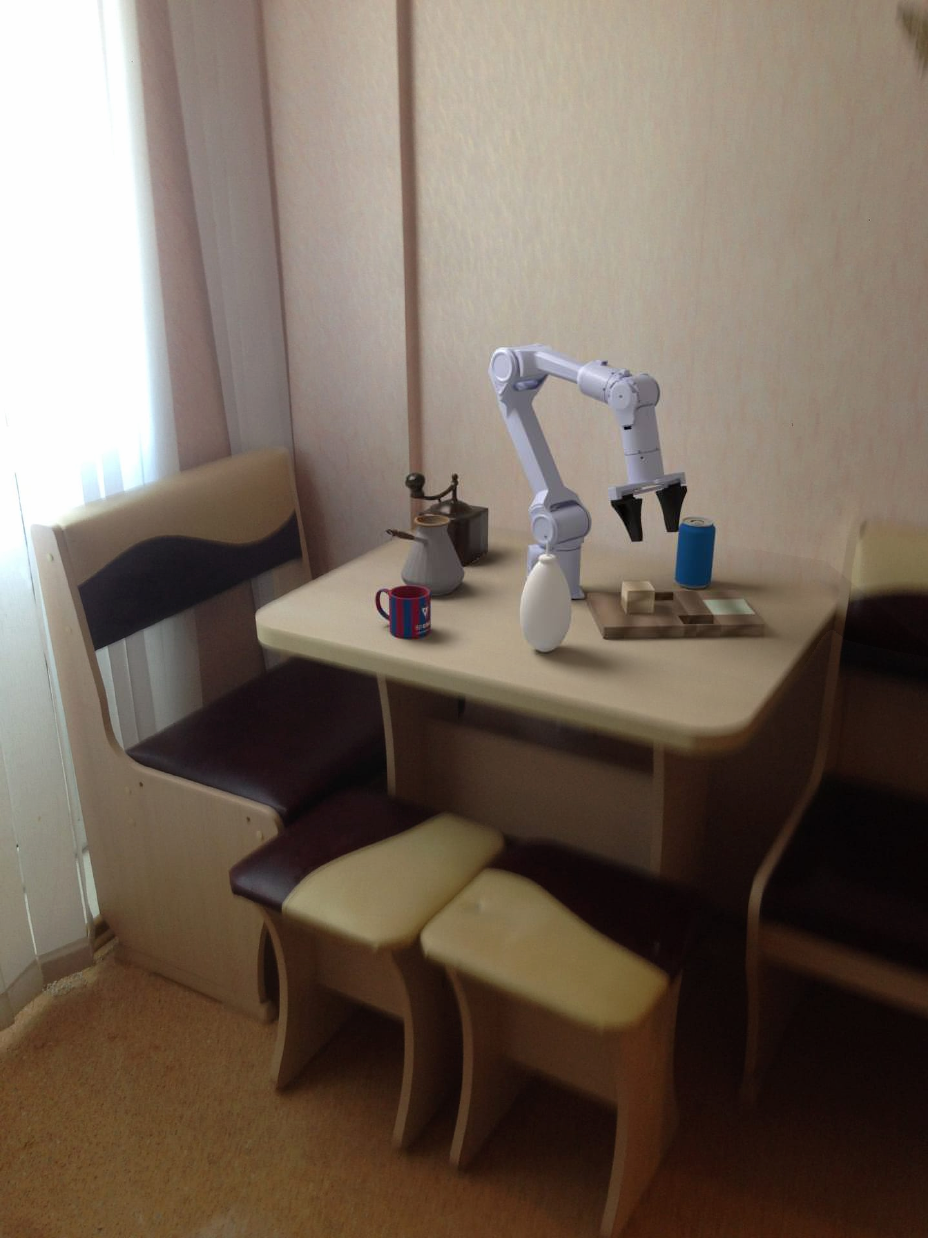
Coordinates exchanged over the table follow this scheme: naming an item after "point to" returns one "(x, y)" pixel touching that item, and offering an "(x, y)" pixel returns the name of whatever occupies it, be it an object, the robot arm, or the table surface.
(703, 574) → the beverage can
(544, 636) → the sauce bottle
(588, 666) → the table surface
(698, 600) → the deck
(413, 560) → the coffee pot
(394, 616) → the mug
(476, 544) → the coffee grinder
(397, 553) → the table surface
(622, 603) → the block
